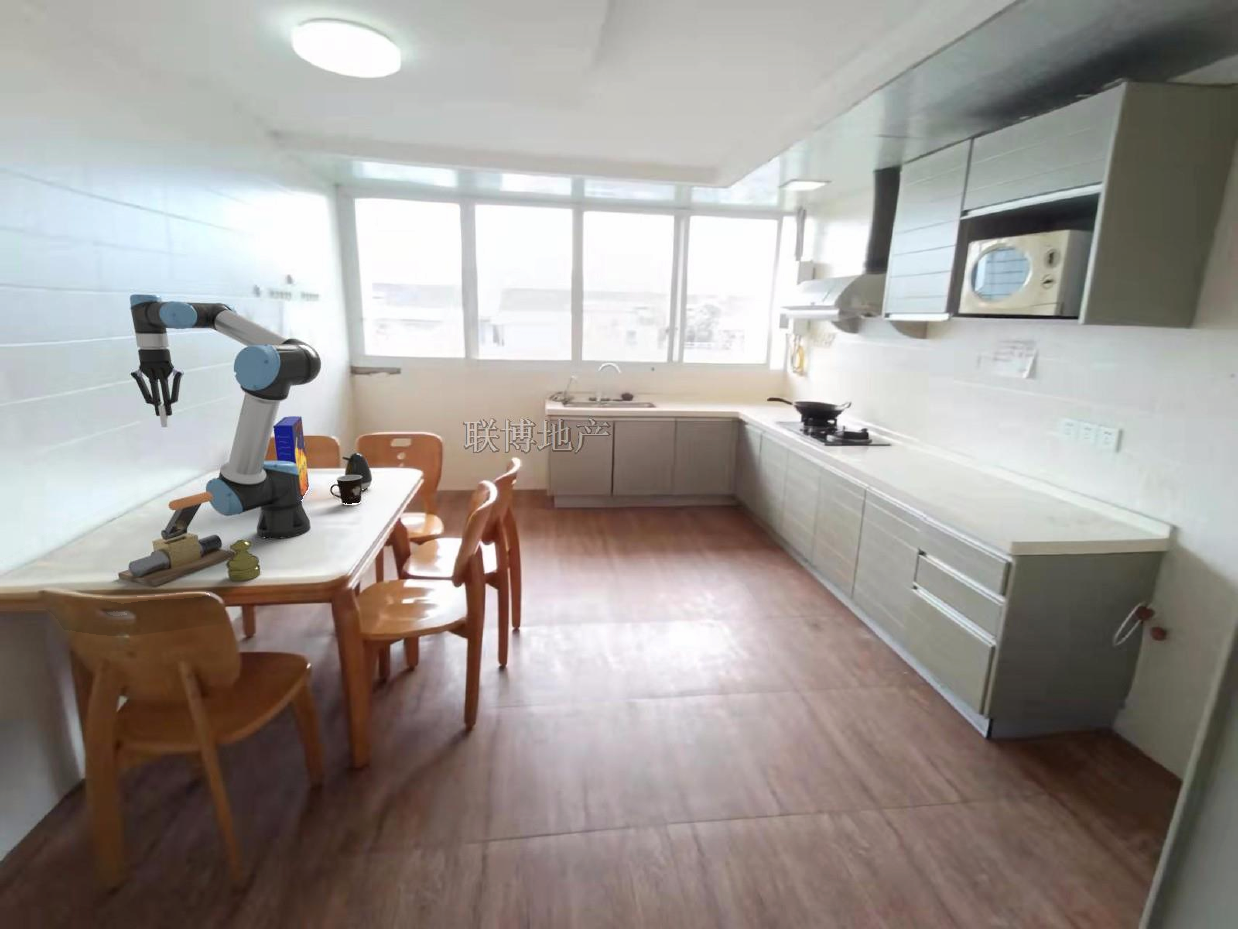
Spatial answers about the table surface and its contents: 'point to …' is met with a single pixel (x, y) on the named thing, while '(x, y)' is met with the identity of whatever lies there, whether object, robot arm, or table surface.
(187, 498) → the valve lever
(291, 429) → the cereal box
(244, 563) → the gold pawn figurine
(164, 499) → the table surface
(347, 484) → the coffee mug
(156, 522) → the table surface
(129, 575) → the pipe valve
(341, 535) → the table surface
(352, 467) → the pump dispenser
